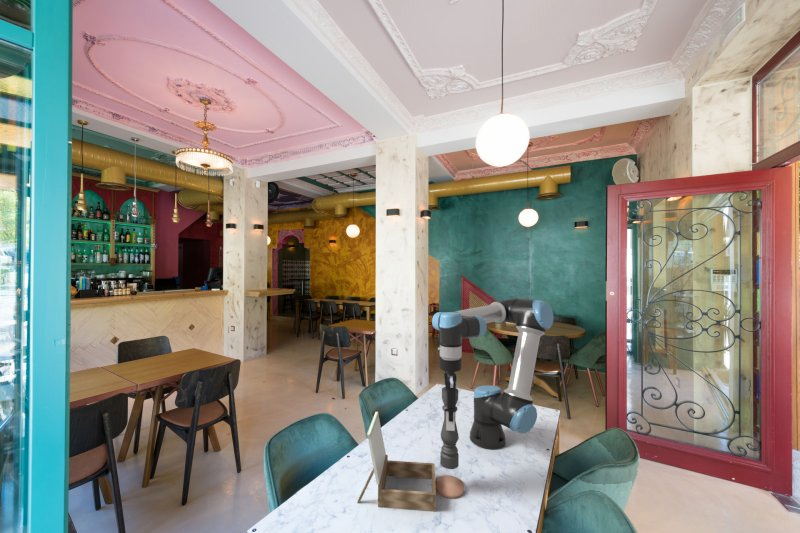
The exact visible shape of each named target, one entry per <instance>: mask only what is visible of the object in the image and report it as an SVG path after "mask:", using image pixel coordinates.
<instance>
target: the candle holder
mask: <svg viewBox="0 0 800 533" xmlns="http://www.w3.org/2000/svg"><path fill="white" fill-rule="evenodd" d="M441 400H442V403H443V405H442V406H441V407H442V408H441V410H443V422H442V427H441V430H440V440H441V441H442V444H443V445H442V446H441V448H440V449H441V450H440V460H439V461H440V466H441V467H442V468H444V469H447V470H455V469H458V467H459V462H460V461H459V459H460V458H459V453H458V452H459V450H458V448H457V443H458V441H459V432H458V427H457V420H455V431H448V430H446V411H445V409H447V389H446V388H445V386H444V387H442V388H441ZM458 401H459V389H458V388H457V387H456V389H455V409H456V411H455V413H457V412H458V406H457V404H458Z"/></svg>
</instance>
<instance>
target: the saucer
mask: <svg viewBox="0 0 800 533" xmlns="http://www.w3.org/2000/svg"><path fill="white" fill-rule="evenodd" d="M435 485H436V493H437V494H438V495H439V496H440V497H442V498H445V499H450V500H451V499H452V500H455V499H458V498H459V499H460V498H461V497H462V496H463V495H464V493H465V483H464V481H462V480H461V479H460V478H459V477H457V476H455V475H450V474H443V475H440V476H438V477H437V478H435Z"/></svg>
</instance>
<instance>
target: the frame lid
mask: <svg viewBox="0 0 800 533" xmlns="http://www.w3.org/2000/svg"><path fill="white" fill-rule="evenodd" d="M381 426H382V425H381V421H380V417H379V411H375V413H374V415H373V417H372V420H371V423H370V425H369V428H368V429H367V433H366V437H367V438H366V439H367V440H368V446H369V450H370V456H371V460H372V466H373V468H374V476H375V482H376V485H378V484H379V483H380V479H381V474H382V470H383V466H384V461H385V457H386V455H387V454H386V447H385V442H384V437H383V433H382V427H381Z"/></svg>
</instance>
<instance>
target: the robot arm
mask: <svg viewBox="0 0 800 533" xmlns="http://www.w3.org/2000/svg"><path fill="white" fill-rule="evenodd" d="M553 311H554V310H553V309H552V307H551V305H550V304H549V303H548V302H547V301H545V300H539V299H527V298H526V299H525V298H508V299H502V300H498V301H497V300H496V301H494V302H492V303H490V304H489V305H488V304H487V305H483V306H479V307H471V308H466V309H462V310H457V311H456V310H455V311H449V312H448V311H446V312H445V311H441V312H440V311H438V312H436V313H435V314H433V317H432V319H431V321H432V322H431V324H432V327H433V329H434V330H436V331H439V347H437V351H439V364H438V365H439V369H440V370H441V371H443V372H444V374H443V378H444V387H445V388H446V389H447V409H445V411H446V430H448V431H455V421H456V412H457V411H456V409H455V389H456V388H457V375H456V373H455V372H460V371H461V370H462V355H463V353H462V352H463V351H462V348H463V346H462V344H463V343H462V342H463V339H470V338H471V339H472V338H479V337H482V336H484V335H485V334H486V332H487V324H489V323H493V322H494V323H497V324H499V323H509V324H514V325H515V327H516V329H517V331H518V334H517V335H518V336H517V338H516V339H517V340H516V343H515V344H516V345H515V351H514V356H513V360H512V366H511V370H510V376H509V381H508V386H507V388H505V389H503V391H502V388H501V387H499V386H497V385H486V384H485V385H480V386H476V387H475V389H474V390H473V423H472V425H471V427H470V428H471V429H470V432H469V439H470V442H472V444H474V445H475V446H477V447H479V448H482V449H487V450H499V449H502V448H503V447H505V446H506V436H505V432H504V430H503V429H504V428H503V426H504V427H506V428H508V429H509V430H511V431H513V432H515V433H516V432H517V433H518V434H527V433H529V432H530V431H531V430H533V428H534V426H535V424H536V422H537V418H538V412H537V408H536V407H535V405H533V402H534V399H533V397H532V396H531V390H532V384H533V380H534V374H535V367H536V362H537V356H538V351H539V346H540V339H541V337H542V336H543V335H545V334H546V330H549V329H550V328H552V326H553V324H554V312H553ZM455 411H456V412H455Z"/></svg>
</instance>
